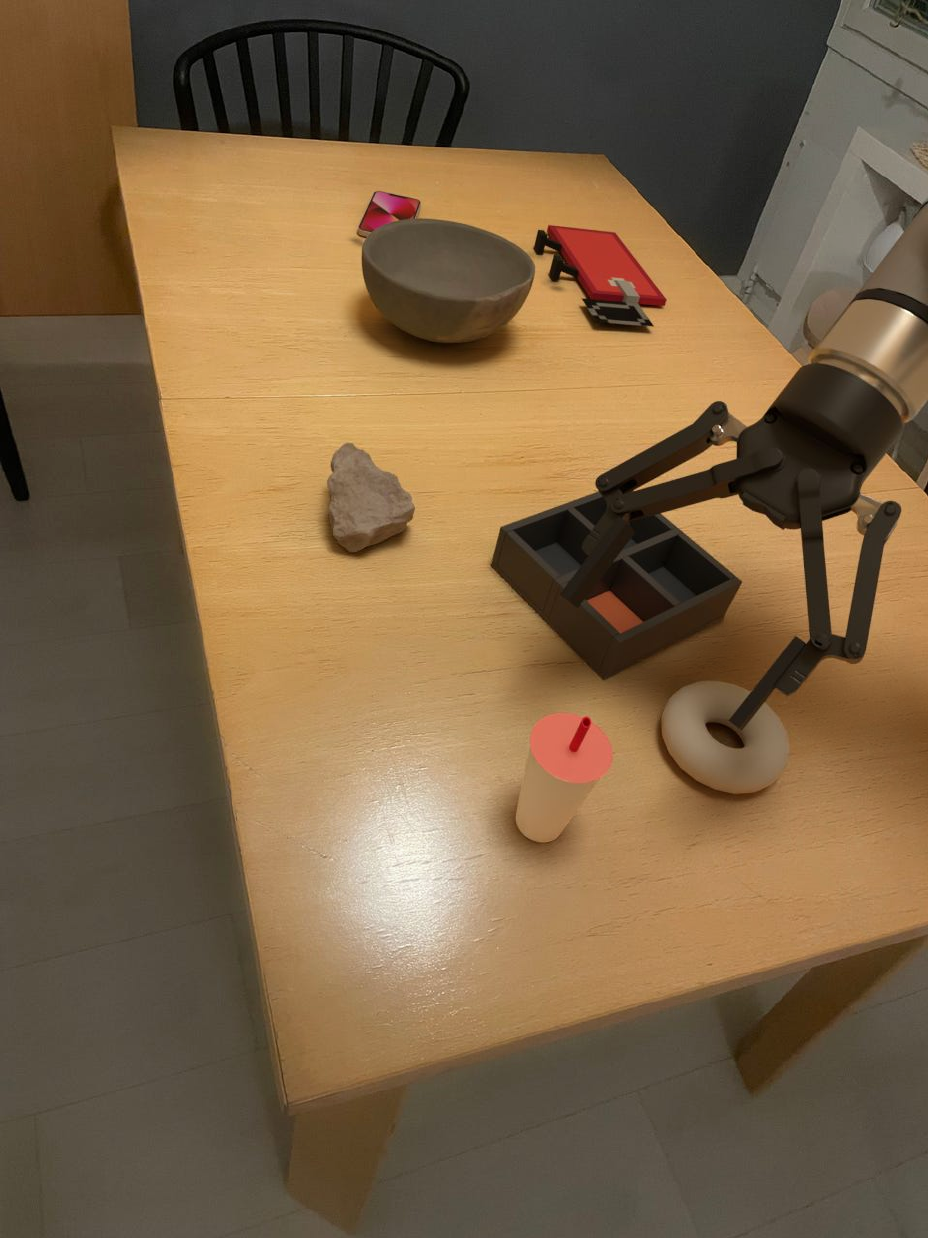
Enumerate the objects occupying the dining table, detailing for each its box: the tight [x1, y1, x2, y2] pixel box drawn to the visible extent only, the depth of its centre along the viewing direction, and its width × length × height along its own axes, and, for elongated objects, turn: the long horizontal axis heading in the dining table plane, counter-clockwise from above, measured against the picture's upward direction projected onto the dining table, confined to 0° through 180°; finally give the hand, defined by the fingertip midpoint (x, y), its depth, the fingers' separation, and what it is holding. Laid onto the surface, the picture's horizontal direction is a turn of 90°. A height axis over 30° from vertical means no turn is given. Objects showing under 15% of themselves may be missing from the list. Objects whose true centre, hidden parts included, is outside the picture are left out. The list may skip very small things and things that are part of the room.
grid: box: [490, 490, 743, 681], centre depth 78 cm, size 15×15×5 cm
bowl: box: [361, 217, 536, 344], centre depth 105 cm, size 20×20×10 cm
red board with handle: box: [533, 224, 668, 327], centre depth 125 cm, size 30×3×15 cm
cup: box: [515, 712, 614, 844], centre depth 57 cm, size 5×5×12 cm
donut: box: [660, 680, 791, 795], centre depth 68 cm, size 10×4×10 cm
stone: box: [326, 442, 416, 553], centre depth 78 cm, size 10×8×6 cm
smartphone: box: [357, 190, 422, 238], centre depth 128 cm, size 7×1×15 cm
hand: (647, 661), depth 57 cm, fingers open, 13 cm apart
